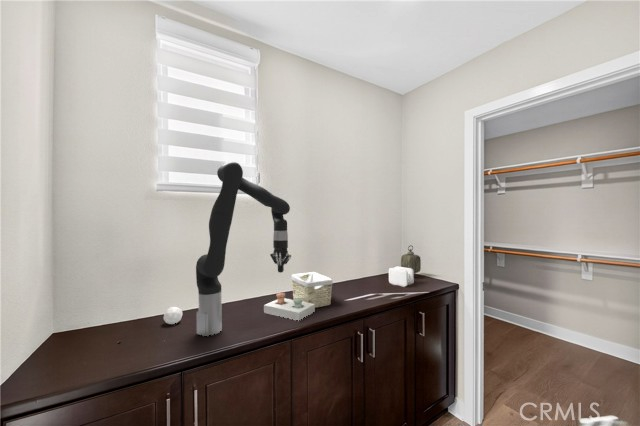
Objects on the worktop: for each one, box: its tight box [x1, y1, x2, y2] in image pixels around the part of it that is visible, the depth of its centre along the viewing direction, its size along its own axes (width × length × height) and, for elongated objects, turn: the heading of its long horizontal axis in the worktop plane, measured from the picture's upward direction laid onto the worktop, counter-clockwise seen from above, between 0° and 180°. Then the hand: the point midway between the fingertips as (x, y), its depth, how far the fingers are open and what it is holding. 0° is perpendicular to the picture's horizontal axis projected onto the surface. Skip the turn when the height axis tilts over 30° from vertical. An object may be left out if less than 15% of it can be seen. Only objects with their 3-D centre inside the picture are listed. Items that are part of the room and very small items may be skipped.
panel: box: [263, 297, 316, 322], centre depth 138 cm, size 14×22×4 cm, turn 59°
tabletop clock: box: [400, 245, 422, 279], centre depth 209 cm, size 14×9×25 cm, turn 130°
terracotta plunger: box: [276, 292, 286, 305], centre depth 140 cm, size 5×5×7 cm
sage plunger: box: [292, 298, 303, 309], centre depth 135 cm, size 5×5×7 cm
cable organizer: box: [388, 265, 415, 288], centre depth 189 cm, size 15×11×12 cm
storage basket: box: [290, 271, 334, 309], centre depth 154 cm, size 24×16×15 cm
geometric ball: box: [163, 306, 183, 325], centre depth 125 cm, size 8×8×8 cm
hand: (280, 272), depth 141 cm, fingers closed
